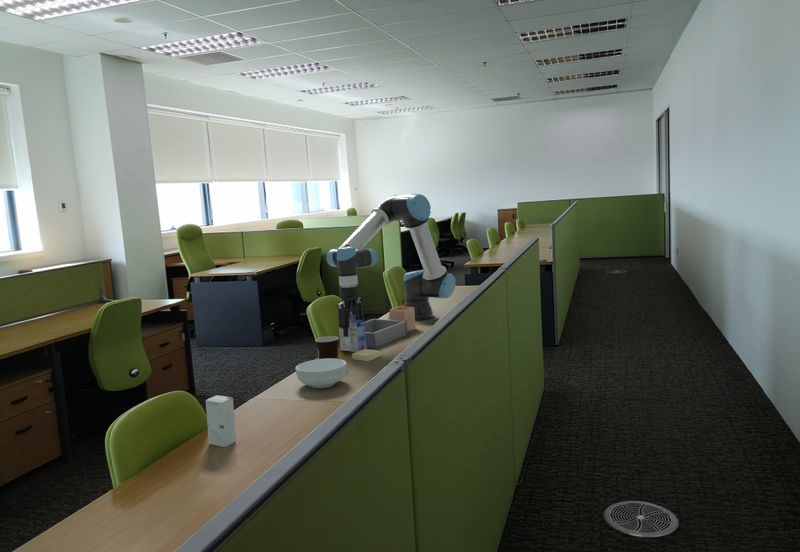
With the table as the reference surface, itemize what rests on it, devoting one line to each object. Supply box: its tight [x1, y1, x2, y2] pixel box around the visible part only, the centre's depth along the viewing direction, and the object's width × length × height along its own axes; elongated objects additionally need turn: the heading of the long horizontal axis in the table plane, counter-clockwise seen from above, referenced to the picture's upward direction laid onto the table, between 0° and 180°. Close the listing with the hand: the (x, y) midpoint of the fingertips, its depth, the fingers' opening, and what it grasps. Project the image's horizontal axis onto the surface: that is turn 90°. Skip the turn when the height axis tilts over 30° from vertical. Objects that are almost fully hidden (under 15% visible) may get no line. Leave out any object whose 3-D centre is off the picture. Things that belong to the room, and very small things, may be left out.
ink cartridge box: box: [338, 313, 368, 353], centre depth 250 cm, size 10×6×14 cm, turn 55°
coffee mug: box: [314, 335, 340, 359], centre depth 232 cm, size 12×9×10 cm
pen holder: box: [389, 305, 417, 333], centre depth 281 cm, size 8×8×10 cm
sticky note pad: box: [351, 348, 381, 362], centre depth 238 cm, size 8×8×2 cm
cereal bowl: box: [295, 358, 348, 389], centre depth 207 cm, size 17×17×7 cm
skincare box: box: [205, 394, 237, 448], centre depth 162 cm, size 6×4×12 cm
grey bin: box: [364, 318, 408, 349], centre depth 267 cm, size 24×18×6 cm
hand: (353, 342), depth 251 cm, fingers open, 6 cm apart
